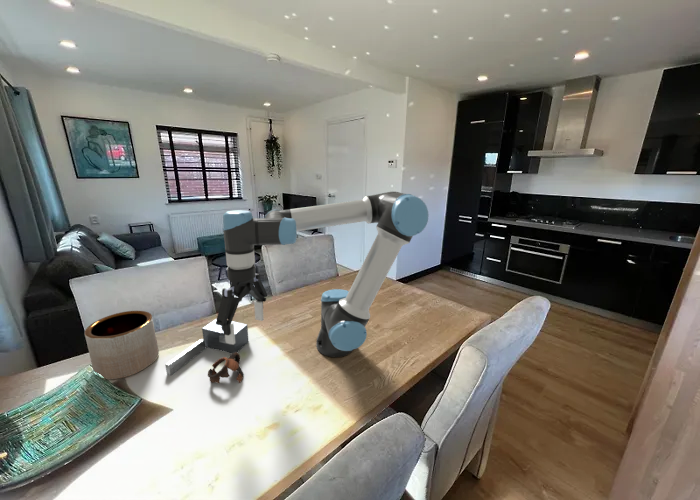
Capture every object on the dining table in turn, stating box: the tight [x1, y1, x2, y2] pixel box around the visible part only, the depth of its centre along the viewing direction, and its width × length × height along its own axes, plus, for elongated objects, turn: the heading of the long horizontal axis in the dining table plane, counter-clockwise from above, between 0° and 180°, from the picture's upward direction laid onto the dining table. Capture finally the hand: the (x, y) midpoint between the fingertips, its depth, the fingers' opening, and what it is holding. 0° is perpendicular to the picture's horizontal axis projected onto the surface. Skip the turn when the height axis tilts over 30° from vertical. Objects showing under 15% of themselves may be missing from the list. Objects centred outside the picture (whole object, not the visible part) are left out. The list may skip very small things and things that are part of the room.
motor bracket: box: [165, 318, 250, 376], centre depth 100 cm, size 14×24×10 cm, turn 163°
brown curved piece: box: [207, 352, 245, 384], centre depth 92 cm, size 12×10×8 cm
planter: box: [84, 310, 160, 380], centre depth 95 cm, size 18×18×16 cm
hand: (246, 330), depth 86 cm, fingers open, 13 cm apart
